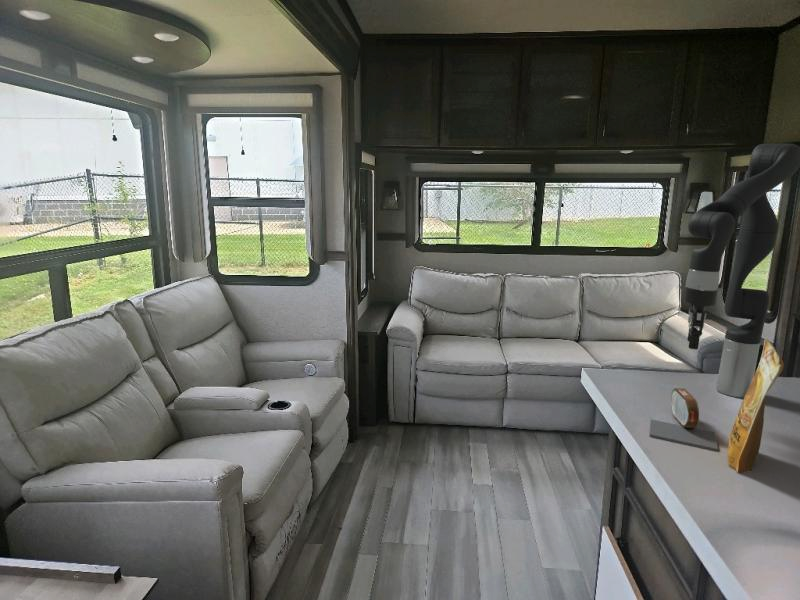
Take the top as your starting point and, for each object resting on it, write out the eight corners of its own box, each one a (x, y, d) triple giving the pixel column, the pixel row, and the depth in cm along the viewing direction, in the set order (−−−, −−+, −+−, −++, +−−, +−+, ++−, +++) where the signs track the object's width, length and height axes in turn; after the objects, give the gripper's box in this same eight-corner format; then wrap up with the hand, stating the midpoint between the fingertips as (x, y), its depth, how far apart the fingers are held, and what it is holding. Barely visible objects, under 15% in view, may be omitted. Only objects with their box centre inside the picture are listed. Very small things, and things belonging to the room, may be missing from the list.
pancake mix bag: (760, 447, 128) (781, 339, 121) (760, 482, 112) (785, 360, 106) (728, 439, 131) (747, 334, 125) (724, 472, 116) (746, 353, 110)
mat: (650, 421, 140) (650, 419, 140) (714, 434, 134) (714, 432, 134) (649, 436, 132) (649, 434, 132) (717, 451, 125) (717, 449, 125)
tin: (697, 433, 132) (702, 402, 131) (684, 432, 133) (689, 400, 131) (679, 413, 146) (683, 384, 145) (667, 411, 147) (671, 383, 146)
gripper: (684, 281, 147) (676, 336, 150) (686, 289, 134) (677, 349, 137) (715, 284, 143) (706, 340, 147) (720, 292, 131) (709, 354, 134)
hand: (692, 344), depth 142 cm, fingers open, 7 cm apart
